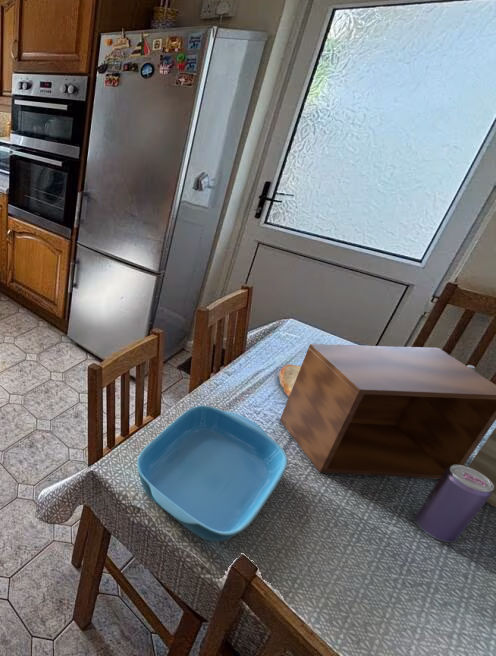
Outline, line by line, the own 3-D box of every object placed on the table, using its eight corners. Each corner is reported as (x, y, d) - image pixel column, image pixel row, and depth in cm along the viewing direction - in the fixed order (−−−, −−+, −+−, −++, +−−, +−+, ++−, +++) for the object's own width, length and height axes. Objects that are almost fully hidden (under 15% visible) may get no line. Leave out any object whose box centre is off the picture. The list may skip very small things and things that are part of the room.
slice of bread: (322, 422, 107) (327, 411, 106) (256, 380, 122) (260, 370, 121) (362, 401, 114) (367, 391, 112) (295, 364, 129) (299, 354, 127)
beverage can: (453, 550, 78) (495, 498, 72) (411, 526, 82) (446, 475, 76) (457, 530, 82) (496, 478, 75) (416, 508, 86) (450, 458, 79)
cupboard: (453, 480, 92) (512, 395, 81) (319, 472, 94) (360, 389, 83) (395, 425, 106) (438, 347, 96) (279, 419, 108) (310, 343, 98)
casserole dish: (218, 580, 74) (228, 556, 71) (114, 492, 90) (118, 469, 87) (292, 469, 95) (302, 447, 92) (197, 413, 111) (202, 393, 108)
